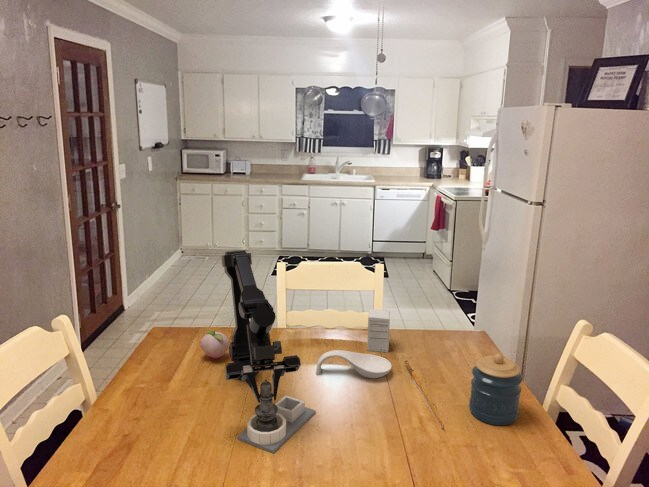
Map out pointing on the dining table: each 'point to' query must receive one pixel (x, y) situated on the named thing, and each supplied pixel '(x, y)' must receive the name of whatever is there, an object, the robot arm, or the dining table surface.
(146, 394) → the dining table surface
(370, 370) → the spoon rest
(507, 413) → the canister
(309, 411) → the socket board
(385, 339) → the supplement box
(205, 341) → the decorative fruit
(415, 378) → the katana
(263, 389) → the dark grey tiered column
